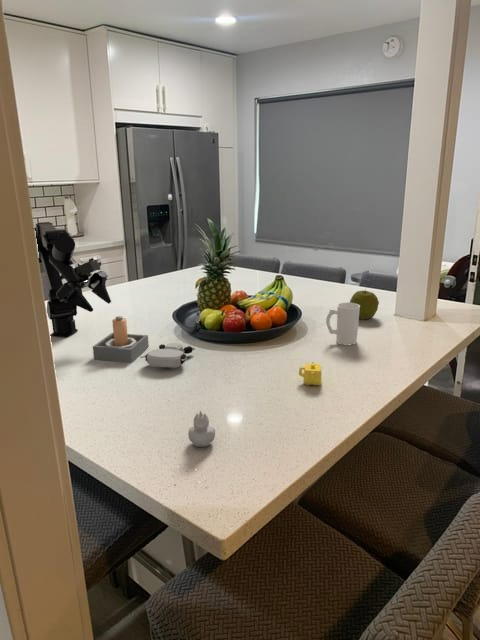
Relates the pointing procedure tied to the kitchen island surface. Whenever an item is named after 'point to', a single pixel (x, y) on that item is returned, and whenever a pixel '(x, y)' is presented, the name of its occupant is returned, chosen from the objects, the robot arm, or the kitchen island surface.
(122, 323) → the orange cylinder
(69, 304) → the robot arm
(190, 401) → the kitchen island surface
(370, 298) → the apple
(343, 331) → the mug
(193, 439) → the grey potted plant
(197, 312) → the caliper
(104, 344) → the housing
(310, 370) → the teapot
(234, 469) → the kitchen island surface
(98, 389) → the kitchen island surface
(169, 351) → the robot toy
